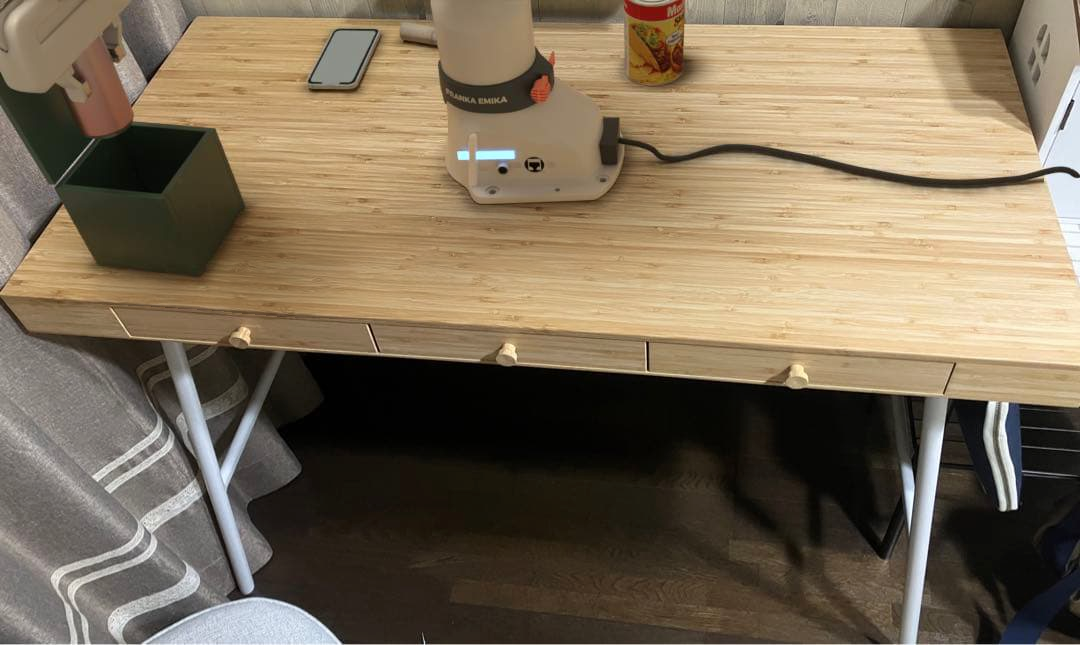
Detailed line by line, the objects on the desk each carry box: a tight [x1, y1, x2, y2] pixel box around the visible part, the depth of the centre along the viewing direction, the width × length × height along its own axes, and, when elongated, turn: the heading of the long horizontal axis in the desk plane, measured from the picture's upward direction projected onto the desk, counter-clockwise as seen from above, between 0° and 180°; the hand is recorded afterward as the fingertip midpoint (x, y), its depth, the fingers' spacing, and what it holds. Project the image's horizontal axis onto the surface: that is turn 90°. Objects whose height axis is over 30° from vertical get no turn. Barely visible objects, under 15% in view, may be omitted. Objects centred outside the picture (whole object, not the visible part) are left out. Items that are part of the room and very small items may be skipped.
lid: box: [0, 72, 94, 186], centre depth 110 cm, size 14×13×5 cm
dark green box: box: [53, 120, 246, 278], centre depth 118 cm, size 14×13×12 cm
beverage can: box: [58, 33, 135, 140], centre depth 105 cm, size 6×6×15 cm
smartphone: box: [306, 27, 382, 90], centre depth 144 cm, size 7×1×15 cm
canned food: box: [622, 0, 686, 87], centre depth 133 cm, size 8×8×12 cm
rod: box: [399, 20, 438, 46], centre depth 145 cm, size 12×3×3 cm, turn 67°
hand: (100, 78), depth 106 cm, fingers closed on beverage can, 6 cm apart
